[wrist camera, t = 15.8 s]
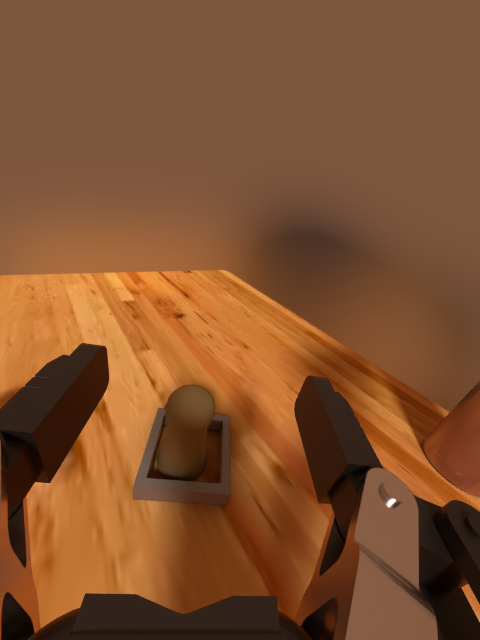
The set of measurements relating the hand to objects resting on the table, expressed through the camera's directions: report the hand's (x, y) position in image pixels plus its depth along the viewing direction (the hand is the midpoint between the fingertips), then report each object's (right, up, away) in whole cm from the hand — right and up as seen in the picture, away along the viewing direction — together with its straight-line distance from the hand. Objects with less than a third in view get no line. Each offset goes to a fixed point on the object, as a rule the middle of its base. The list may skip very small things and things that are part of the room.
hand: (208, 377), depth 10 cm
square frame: (-5, -15, +21) cm, 26 cm away
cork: (-6, -15, +20) cm, 26 cm away
